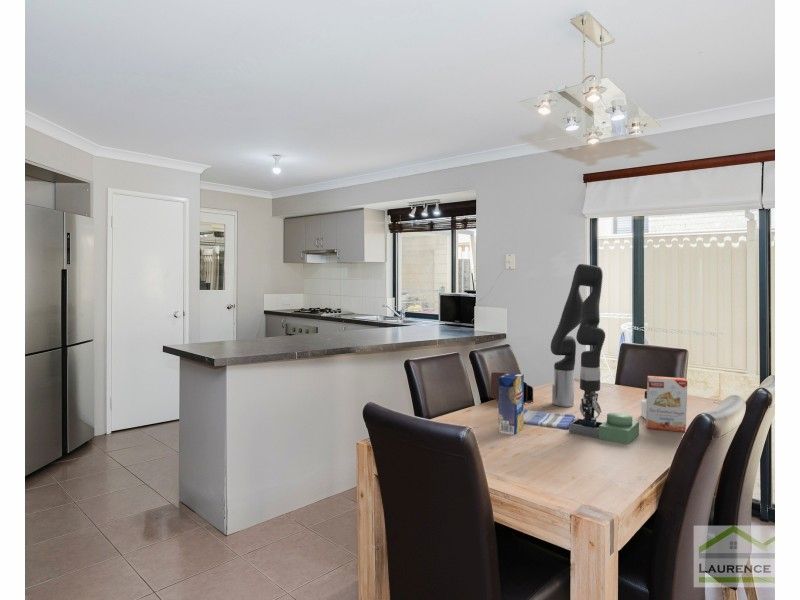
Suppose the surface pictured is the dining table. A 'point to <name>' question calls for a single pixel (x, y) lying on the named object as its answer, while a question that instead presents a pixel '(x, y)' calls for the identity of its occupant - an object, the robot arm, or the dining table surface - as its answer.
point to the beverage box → (511, 403)
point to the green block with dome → (619, 428)
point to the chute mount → (584, 428)
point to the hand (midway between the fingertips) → (589, 420)
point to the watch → (593, 420)
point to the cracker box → (666, 403)
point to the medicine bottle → (644, 406)
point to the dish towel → (547, 419)
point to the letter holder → (495, 388)
